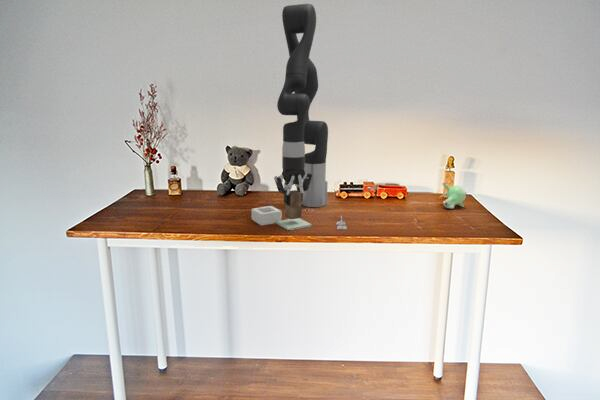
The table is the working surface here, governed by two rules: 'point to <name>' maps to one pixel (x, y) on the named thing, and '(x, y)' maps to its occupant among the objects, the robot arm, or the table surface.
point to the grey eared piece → (341, 224)
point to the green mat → (293, 224)
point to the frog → (453, 196)
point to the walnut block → (294, 205)
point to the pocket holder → (266, 215)
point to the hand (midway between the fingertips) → (293, 203)
